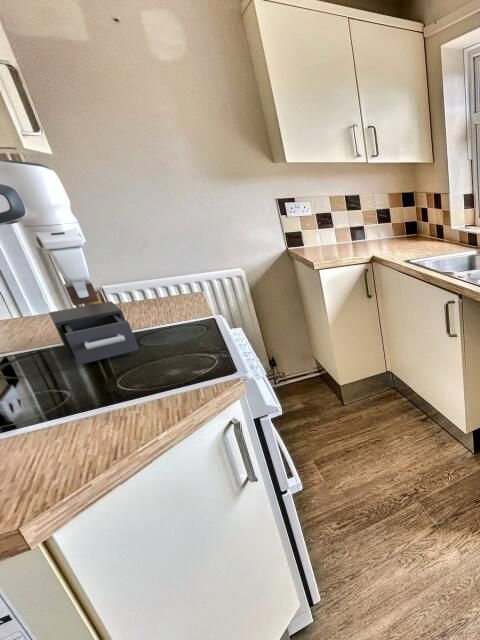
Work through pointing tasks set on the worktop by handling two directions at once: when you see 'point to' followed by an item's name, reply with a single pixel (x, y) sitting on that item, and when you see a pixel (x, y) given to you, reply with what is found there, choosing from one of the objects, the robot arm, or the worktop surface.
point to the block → (77, 300)
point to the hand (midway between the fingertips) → (82, 295)
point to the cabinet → (82, 318)
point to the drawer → (100, 338)
